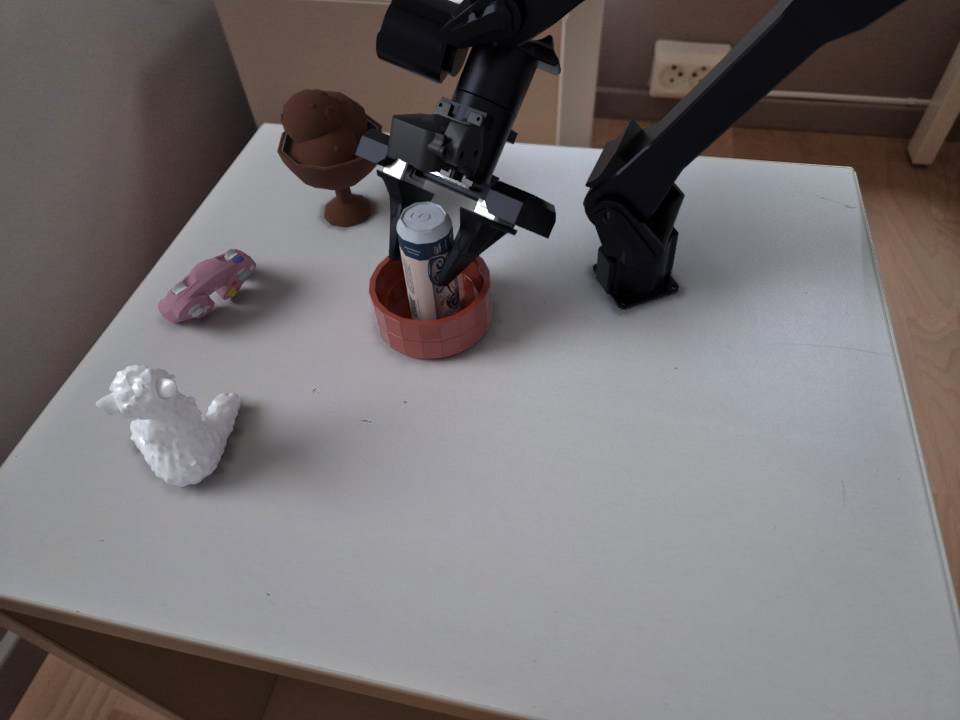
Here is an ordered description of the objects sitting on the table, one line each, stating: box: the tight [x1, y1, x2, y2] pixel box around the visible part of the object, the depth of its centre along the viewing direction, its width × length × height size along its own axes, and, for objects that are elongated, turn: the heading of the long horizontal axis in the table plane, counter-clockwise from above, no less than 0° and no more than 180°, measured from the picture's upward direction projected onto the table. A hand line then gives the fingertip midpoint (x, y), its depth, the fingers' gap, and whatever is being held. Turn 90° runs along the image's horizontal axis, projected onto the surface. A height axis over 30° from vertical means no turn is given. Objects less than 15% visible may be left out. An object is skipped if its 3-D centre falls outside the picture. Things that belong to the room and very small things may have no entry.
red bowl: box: [368, 255, 494, 360], centre depth 71 cm, size 11×11×5 cm
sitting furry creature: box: [95, 363, 242, 488], centre depth 60 cm, size 10×9×12 cm
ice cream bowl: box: [276, 88, 383, 228], centre depth 79 cm, size 11×11×15 cm
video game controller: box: [157, 248, 257, 324], centre depth 74 cm, size 10×5×7 cm, turn 139°
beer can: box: [397, 201, 461, 321], centre depth 68 cm, size 5×5×12 cm
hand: (417, 273), depth 67 cm, fingers open, 5 cm apart
